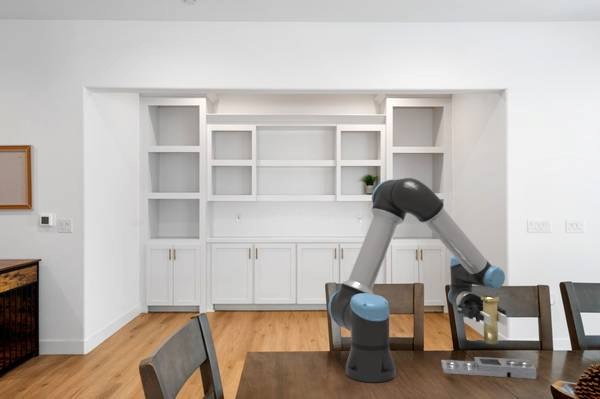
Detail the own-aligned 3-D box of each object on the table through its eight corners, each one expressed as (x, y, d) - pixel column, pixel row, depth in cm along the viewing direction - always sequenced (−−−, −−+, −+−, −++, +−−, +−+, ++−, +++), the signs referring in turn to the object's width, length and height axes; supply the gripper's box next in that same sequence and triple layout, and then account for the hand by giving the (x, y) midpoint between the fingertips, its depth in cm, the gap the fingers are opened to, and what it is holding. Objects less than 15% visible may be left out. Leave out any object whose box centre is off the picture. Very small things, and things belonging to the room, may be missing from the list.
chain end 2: (478, 375, 137) (478, 363, 137) (474, 366, 144) (474, 355, 145) (536, 379, 133) (536, 366, 133) (528, 369, 141) (528, 358, 141)
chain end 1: (443, 373, 139) (443, 365, 139) (441, 364, 147) (441, 357, 147) (506, 377, 135) (506, 369, 135) (500, 368, 143) (500, 360, 143)
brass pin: (483, 344, 138) (482, 298, 138) (480, 339, 143) (479, 295, 144) (501, 345, 137) (500, 298, 137) (498, 340, 142) (497, 295, 142)
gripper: (495, 314, 158) (526, 333, 135) (446, 315, 159) (468, 333, 135) (495, 293, 158) (526, 307, 135) (445, 293, 159) (468, 308, 135)
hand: (497, 320), depth 135 cm, fingers closed on brass pin, 4 cm apart
